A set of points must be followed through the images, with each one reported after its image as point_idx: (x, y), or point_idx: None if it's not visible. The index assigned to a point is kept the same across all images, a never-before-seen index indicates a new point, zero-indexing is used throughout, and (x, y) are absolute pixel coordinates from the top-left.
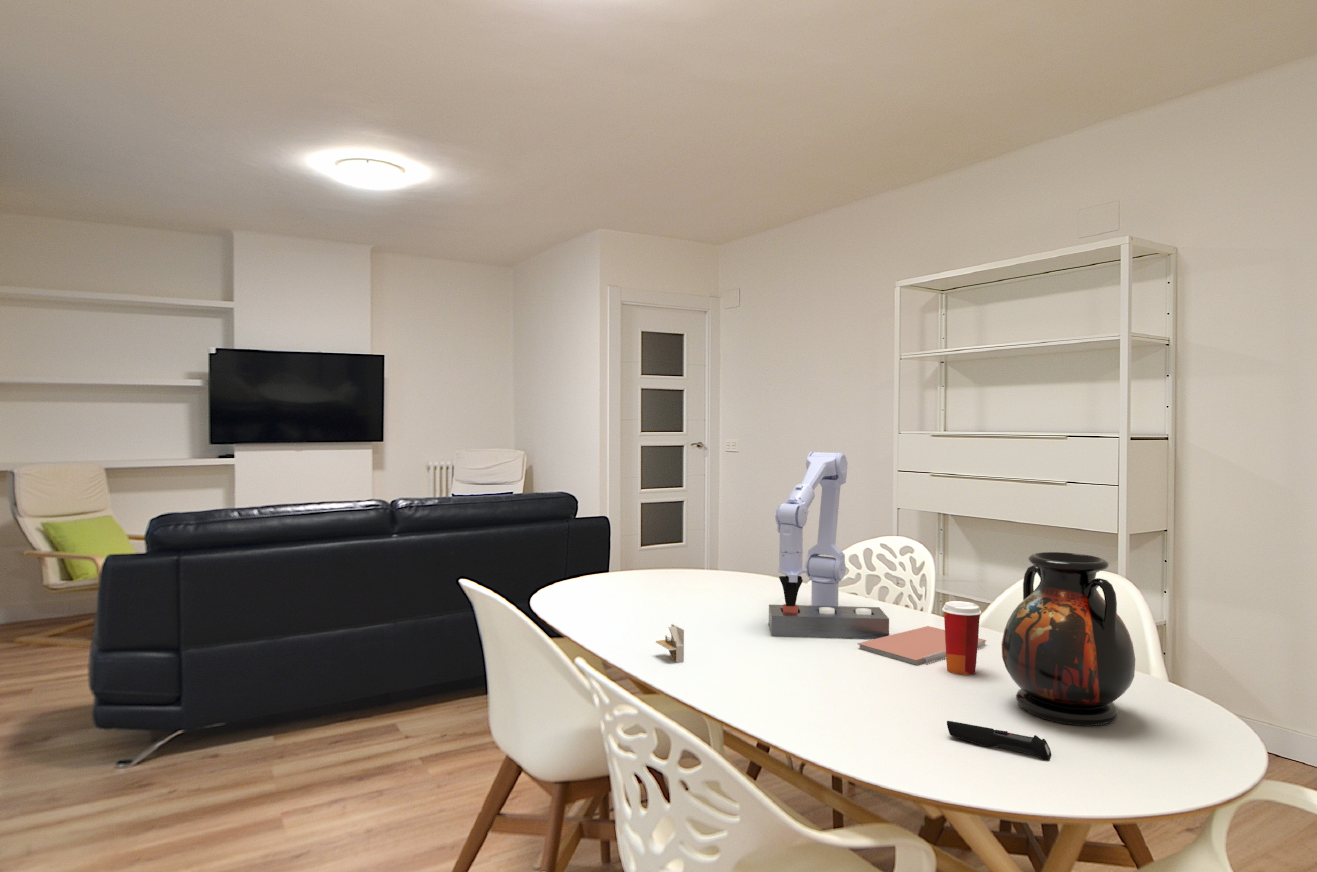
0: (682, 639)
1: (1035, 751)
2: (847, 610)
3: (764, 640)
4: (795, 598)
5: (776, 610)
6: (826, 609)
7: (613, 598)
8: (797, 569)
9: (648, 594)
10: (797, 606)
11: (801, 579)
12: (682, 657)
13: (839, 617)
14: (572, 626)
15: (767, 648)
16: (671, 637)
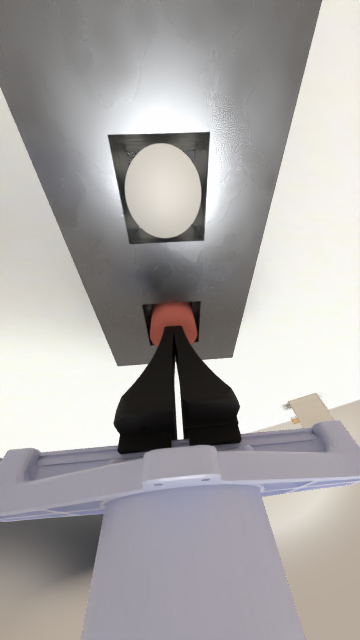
0: (331, 418)
1: None
2: (103, 2)
3: (246, 335)
4: (188, 342)
5: None
6: (179, 201)
7: None
8: (261, 502)
9: (28, 444)
10: (185, 318)
11: (206, 404)
12: (319, 398)
13: (286, 131)
14: None
15: (294, 330)
16: (299, 421)
